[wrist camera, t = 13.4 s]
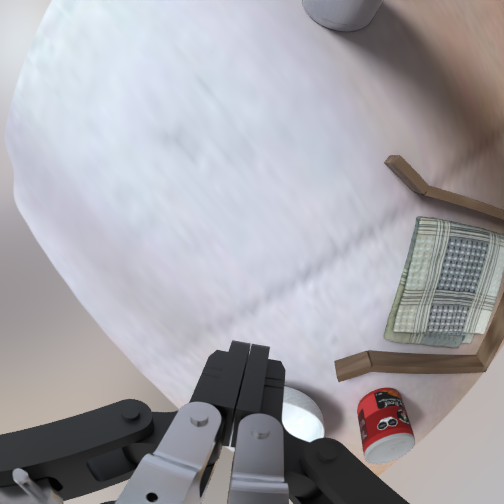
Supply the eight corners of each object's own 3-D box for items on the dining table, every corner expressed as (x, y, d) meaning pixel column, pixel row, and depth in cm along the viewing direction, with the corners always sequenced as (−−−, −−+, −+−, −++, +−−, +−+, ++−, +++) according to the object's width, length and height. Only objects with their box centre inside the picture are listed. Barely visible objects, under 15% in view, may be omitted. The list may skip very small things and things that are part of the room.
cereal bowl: (269, 351, 41) (264, 383, 34) (343, 402, 42) (347, 433, 36) (204, 402, 46) (193, 431, 39) (274, 442, 48) (271, 471, 41)
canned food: (408, 394, 41) (424, 441, 30) (376, 421, 43) (385, 467, 33) (380, 380, 40) (395, 431, 30) (347, 408, 43) (353, 459, 32)
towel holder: (385, 154, 30) (395, 154, 27) (531, 205, 28) (545, 210, 25) (332, 366, 40) (334, 381, 37) (471, 371, 38) (478, 382, 34)
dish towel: (413, 211, 33) (423, 216, 30) (505, 233, 31) (517, 239, 28) (379, 338, 38) (384, 351, 35) (469, 341, 37) (477, 351, 34)
